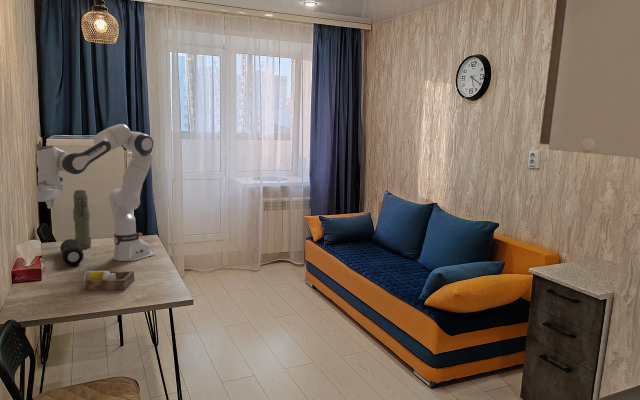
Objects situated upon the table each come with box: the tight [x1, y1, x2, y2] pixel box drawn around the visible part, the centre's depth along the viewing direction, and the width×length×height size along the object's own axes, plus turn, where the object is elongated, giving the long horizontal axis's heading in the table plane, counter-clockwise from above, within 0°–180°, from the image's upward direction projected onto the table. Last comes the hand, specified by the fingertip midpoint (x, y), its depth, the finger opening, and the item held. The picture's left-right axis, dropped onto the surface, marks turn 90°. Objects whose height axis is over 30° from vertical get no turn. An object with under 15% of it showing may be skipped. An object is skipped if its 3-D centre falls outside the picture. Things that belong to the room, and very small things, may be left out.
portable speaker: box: [59, 238, 84, 266], centre depth 263 cm, size 26×10×10 cm, turn 31°
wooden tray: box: [84, 270, 135, 291], centre depth 225 cm, size 18×14×5 cm
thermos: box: [72, 189, 92, 250], centre depth 288 cm, size 9×12×35 cm
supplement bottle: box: [83, 270, 116, 284], centre depth 223 cm, size 7×7×13 cm
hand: (50, 208), depth 232 cm, fingers closed
